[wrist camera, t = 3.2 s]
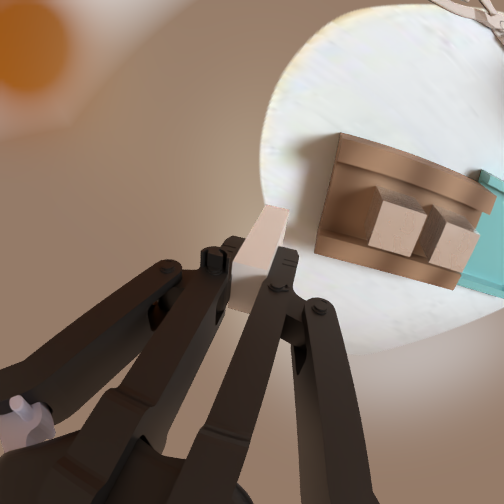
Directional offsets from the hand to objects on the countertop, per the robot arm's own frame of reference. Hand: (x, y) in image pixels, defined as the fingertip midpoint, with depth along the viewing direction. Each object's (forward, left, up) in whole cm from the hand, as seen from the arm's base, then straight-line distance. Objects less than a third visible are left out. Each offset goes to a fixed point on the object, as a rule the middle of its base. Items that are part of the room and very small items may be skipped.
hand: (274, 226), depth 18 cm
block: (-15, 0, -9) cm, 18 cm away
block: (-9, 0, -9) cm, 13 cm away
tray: (-26, 0, -12) cm, 28 cm away
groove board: (-11, 0, -12) cm, 16 cm away
